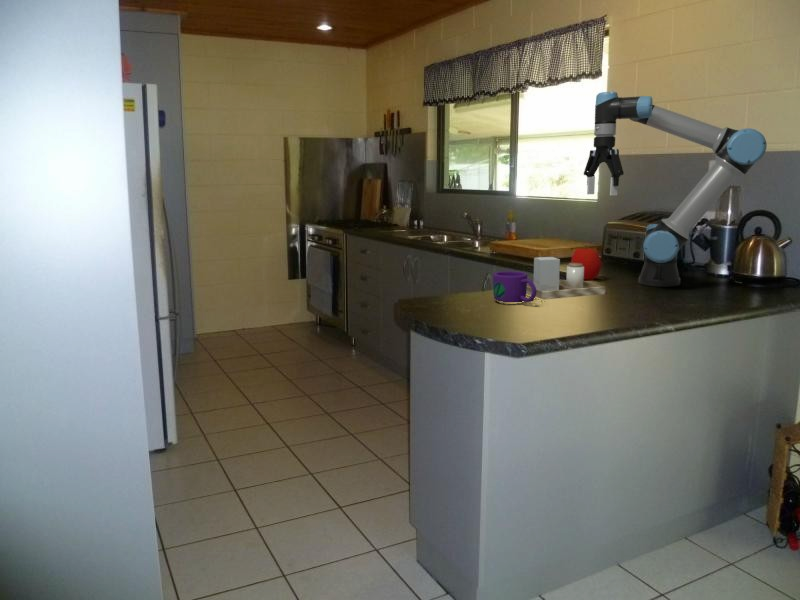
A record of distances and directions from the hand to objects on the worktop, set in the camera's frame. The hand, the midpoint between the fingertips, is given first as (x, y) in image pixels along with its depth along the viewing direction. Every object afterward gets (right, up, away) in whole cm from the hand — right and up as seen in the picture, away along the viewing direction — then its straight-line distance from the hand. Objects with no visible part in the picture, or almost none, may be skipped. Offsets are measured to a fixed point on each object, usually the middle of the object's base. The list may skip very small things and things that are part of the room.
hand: (601, 194), depth 241 cm
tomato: (-1, -32, +19) cm, 37 cm away
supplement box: (-24, -37, -11) cm, 45 cm away
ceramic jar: (-12, -36, -8) cm, 39 cm away
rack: (-18, -37, -10) cm, 43 cm away
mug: (-36, -41, -23) cm, 59 cm away
